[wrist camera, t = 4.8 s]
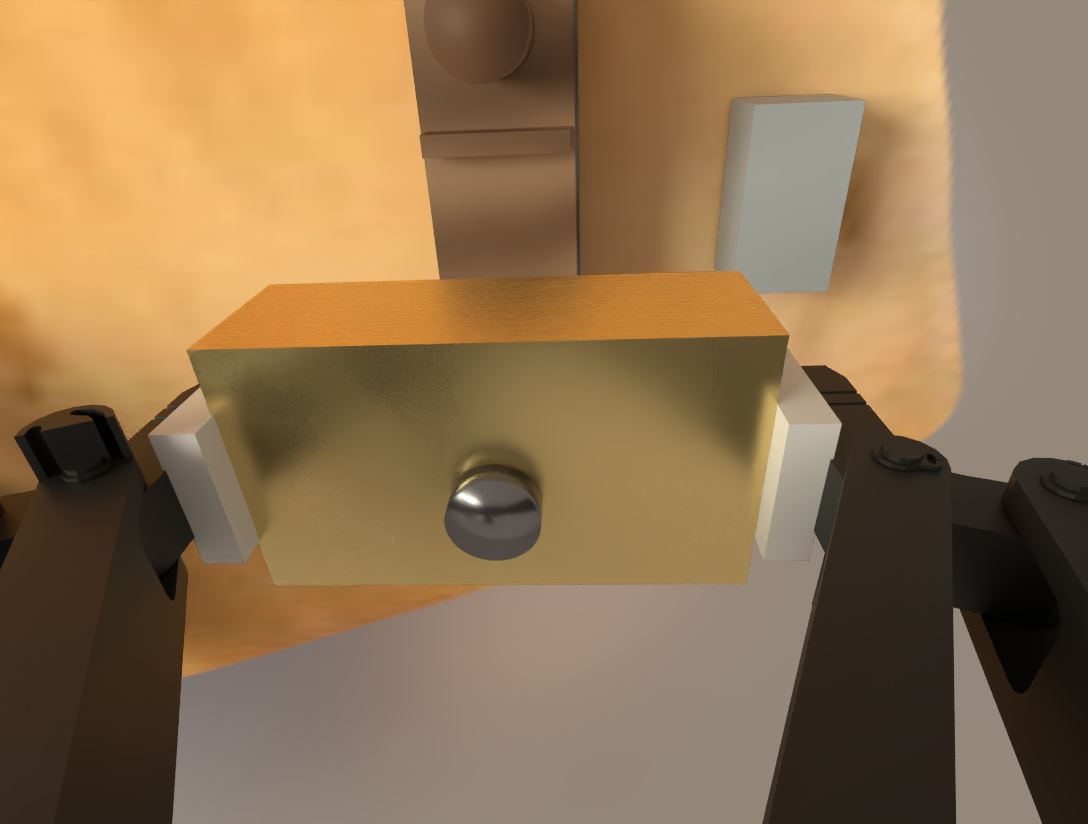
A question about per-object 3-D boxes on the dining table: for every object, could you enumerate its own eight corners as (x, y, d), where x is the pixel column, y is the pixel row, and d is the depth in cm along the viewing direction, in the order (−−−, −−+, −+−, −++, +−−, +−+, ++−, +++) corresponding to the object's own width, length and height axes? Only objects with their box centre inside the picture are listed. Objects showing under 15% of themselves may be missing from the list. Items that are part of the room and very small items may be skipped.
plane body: (581, 416, 37) (587, 574, 26) (476, 418, 38) (438, 575, 26) (575, -87, 25) (582, -195, 14) (420, -78, 25) (305, -177, 14)
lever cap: (714, 484, 14) (754, 609, 11) (326, 489, 14) (260, 609, 11) (739, 270, 11) (802, 352, 8) (269, 284, 12) (163, 367, 9)
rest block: (714, 267, 32) (732, 294, 29) (732, 98, 28) (754, 104, 25) (799, 265, 32) (827, 291, 29) (829, 93, 28) (865, 100, 25)
